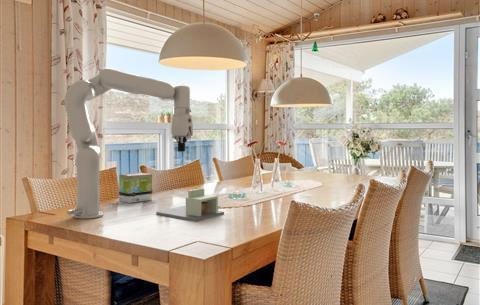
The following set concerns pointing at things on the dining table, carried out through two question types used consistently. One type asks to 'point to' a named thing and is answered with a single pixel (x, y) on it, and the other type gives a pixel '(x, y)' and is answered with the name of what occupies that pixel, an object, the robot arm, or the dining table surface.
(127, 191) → the tea box
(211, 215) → the board
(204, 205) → the wooden crate
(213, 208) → the cover
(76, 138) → the robot arm
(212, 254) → the dining table surface
